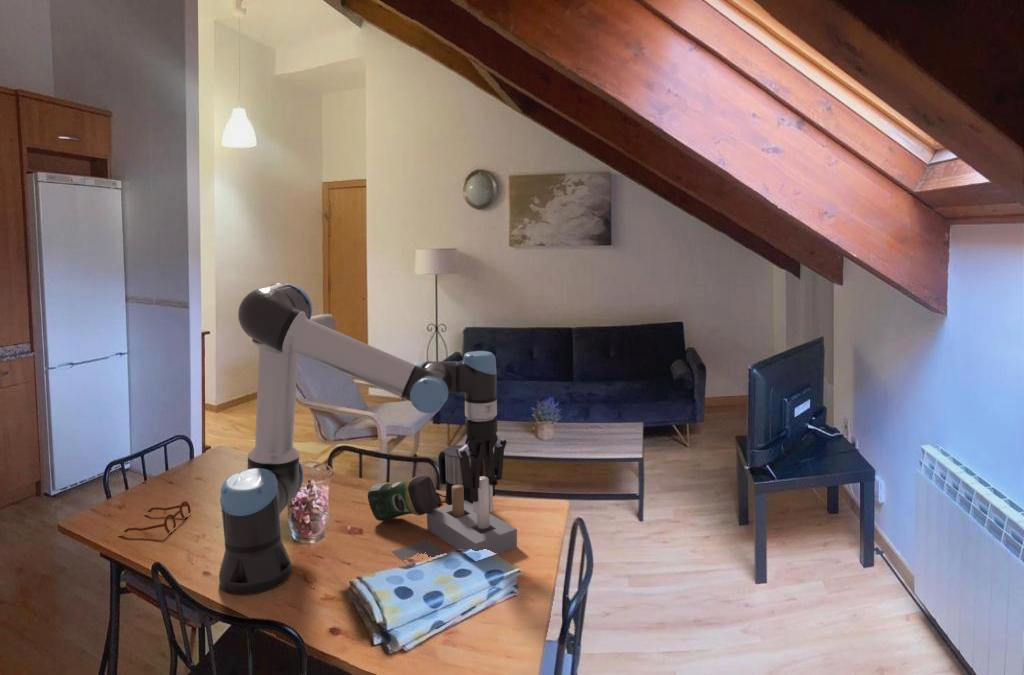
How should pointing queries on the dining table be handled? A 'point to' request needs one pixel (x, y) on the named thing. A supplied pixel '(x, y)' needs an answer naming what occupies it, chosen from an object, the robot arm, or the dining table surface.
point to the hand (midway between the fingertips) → (483, 511)
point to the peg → (484, 504)
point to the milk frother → (451, 473)
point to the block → (469, 527)
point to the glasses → (165, 518)
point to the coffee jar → (403, 498)
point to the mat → (418, 550)
